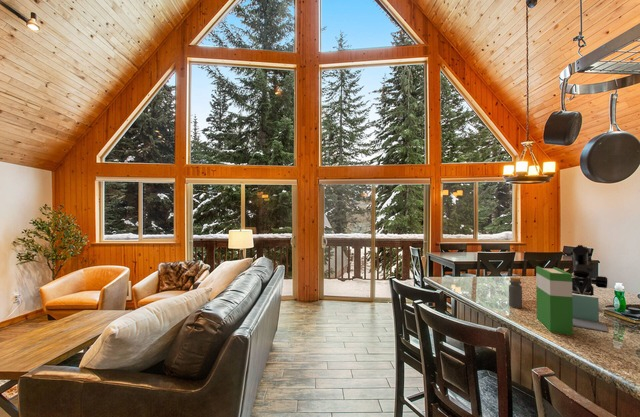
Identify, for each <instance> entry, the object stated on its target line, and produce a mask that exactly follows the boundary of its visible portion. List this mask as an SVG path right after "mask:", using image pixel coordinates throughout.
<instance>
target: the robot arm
mask: <svg viewBox="0 0 640 417" xmlns="http://www.w3.org/2000/svg"><path fill="white" fill-rule="evenodd" d="M570 256H571V258H572V259H571V261H572V262H573V263H572V264H573V266H572V267H573V272H572V273H573V274H572V293H573V294H581V295H589V296H595V295H594V293H595V292H594V286H593V285H592V283H593V284H595V286H596V287H597V288H601V289H607V288H608V283H609V282H608V278H607V277H606V276H601V275H600V276H599V275H595V278H593V277H590V273H593V272H594V265H593V264H591V263H592V256H593V252H592V251H591V250H590V249H589V248H588V247H587V246H584V245H582V244H577V246H575V247H574V246H573V247H572V249H571V250H570Z"/></svg>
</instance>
